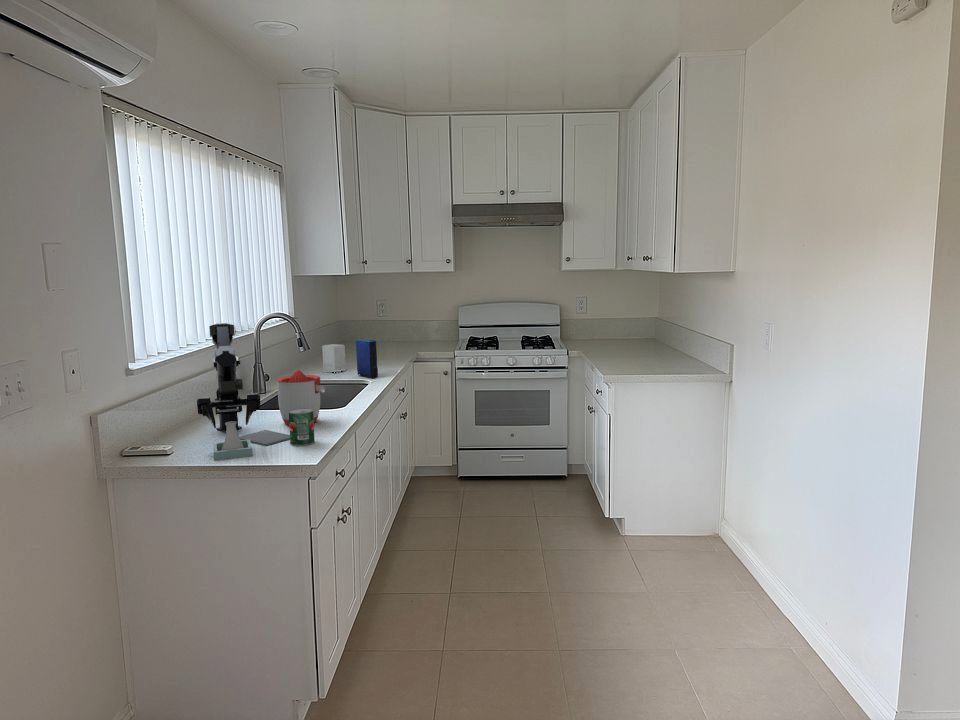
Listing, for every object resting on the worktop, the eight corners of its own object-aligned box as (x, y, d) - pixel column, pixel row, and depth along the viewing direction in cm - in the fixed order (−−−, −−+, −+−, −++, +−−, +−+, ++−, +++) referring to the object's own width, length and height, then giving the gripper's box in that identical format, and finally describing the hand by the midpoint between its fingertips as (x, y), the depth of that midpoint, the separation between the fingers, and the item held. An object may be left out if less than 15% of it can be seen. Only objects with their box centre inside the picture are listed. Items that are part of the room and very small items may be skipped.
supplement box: (346, 371, 358) (345, 344, 356) (334, 373, 351) (333, 346, 349) (334, 370, 363) (333, 343, 361) (322, 372, 356) (321, 345, 353)
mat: (236, 439, 218) (235, 437, 218) (265, 431, 228) (265, 429, 228) (266, 446, 209) (266, 444, 209) (295, 437, 219) (295, 436, 219)
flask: (228, 449, 206) (226, 419, 204) (249, 450, 205) (247, 420, 203) (215, 456, 199) (213, 424, 197) (237, 457, 197) (235, 425, 196)
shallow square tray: (213, 450, 205) (213, 443, 204) (250, 446, 209) (249, 439, 208) (214, 460, 194) (213, 452, 194) (252, 455, 199) (252, 448, 198)
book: (379, 378, 336) (378, 339, 333) (371, 379, 332) (369, 340, 329) (364, 374, 346) (363, 337, 343) (355, 376, 342) (354, 338, 339)
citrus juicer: (319, 428, 232) (316, 373, 230) (272, 427, 234) (269, 373, 231) (331, 417, 248) (329, 366, 245) (287, 417, 249) (285, 366, 246)
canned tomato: (285, 443, 213) (283, 410, 211) (306, 438, 218) (304, 406, 217) (298, 447, 207) (296, 414, 206) (319, 442, 213) (318, 410, 212)
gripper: (194, 372, 200) (196, 414, 191) (258, 368, 207) (262, 408, 198) (197, 393, 208) (199, 434, 199) (257, 388, 215) (262, 428, 207)
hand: (231, 426), depth 201 cm, fingers open, 9 cm apart
